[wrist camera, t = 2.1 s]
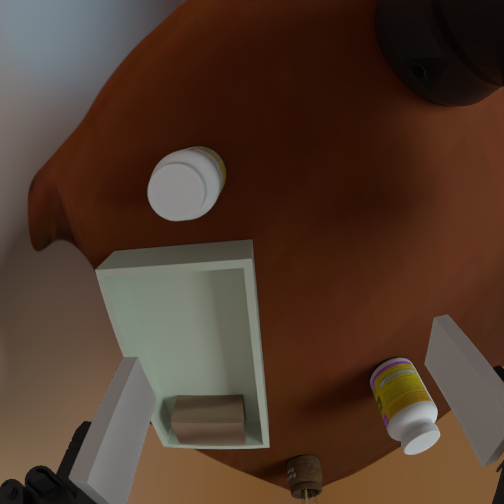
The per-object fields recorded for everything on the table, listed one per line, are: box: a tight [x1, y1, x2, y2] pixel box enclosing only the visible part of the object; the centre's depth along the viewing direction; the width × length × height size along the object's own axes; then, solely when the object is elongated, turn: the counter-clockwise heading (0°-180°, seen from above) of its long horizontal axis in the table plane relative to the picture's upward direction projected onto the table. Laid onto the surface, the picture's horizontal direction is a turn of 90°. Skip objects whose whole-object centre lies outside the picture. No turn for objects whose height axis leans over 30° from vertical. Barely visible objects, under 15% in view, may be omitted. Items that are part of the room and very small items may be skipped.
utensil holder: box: [287, 455, 322, 504], centre depth 41 cm, size 6×6×12 cm
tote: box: [95, 239, 269, 449], centre depth 35 cm, size 28×15×5 cm, turn 5°
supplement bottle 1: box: [148, 146, 226, 221], centre depth 25 cm, size 5×5×10 cm
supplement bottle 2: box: [370, 358, 440, 455], centre depth 33 cm, size 7×7×13 cm
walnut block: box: [170, 394, 247, 445], centre depth 38 cm, size 5×9×5 cm, turn 95°
